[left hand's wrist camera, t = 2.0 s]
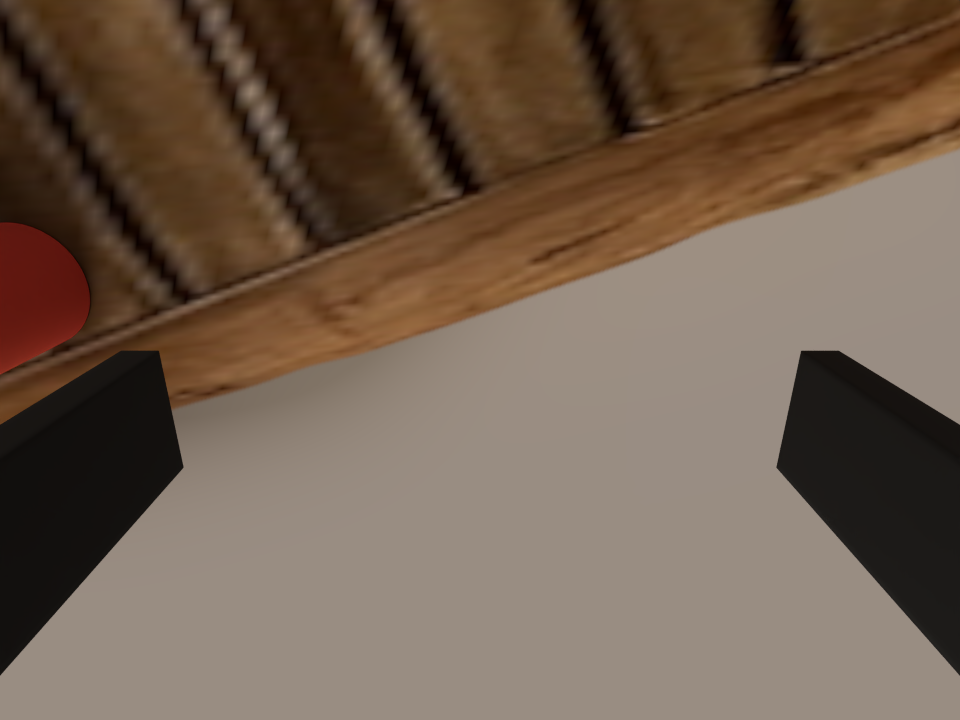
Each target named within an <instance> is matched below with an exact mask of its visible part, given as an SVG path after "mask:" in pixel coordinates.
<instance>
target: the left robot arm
mask: <svg viewBox="0 0 960 720" xmlns="http://www.w3.org/2000/svg"><path fill="white" fill-rule="evenodd" d="M182 469H183V463H182V458H181V453H180V449H179V444H178V439H177V434H176V430H175V425H174V420H173V415H172V411H171V406H170V401H169V397H168V392H167V387H166V382H165V378H164V373H163V368H162V364H161V359H160V354H159V351H120V352H118V353H117V354H115V355H114V356H112V357H110V358H109V359H107V360H105V361H104V362H102V363H100V364H99V365H97V366H96V367H94V368H92V369H91V370H89V371H87V372H86V373H84V374H82V375H81V376H79V377H78V378H76V379H74V380H73V381H71V382H69V383H68V384H66V385H65V386H63V387H61V388H60V389H58V390H56V391H55V392H53V393H51V394H50V395H48V396H47V397H45V398H43V399H42V400H40V401H38V402H37V403H35V404H33V405H32V406H30V407H29V408H27V409H25V410H24V411H22V412H20V413H19V414H17V415H15V416H14V417H12V418H11V419H9V420H7V421H6V422H4V423H2V424H1V425H0V675H1V674H2V673H3V672H4V671H5V669H6V668H7V667H8V666H9V665H10V664H11V663H12V662H13V660H14V659H15V658H16V657H17V656H18V655H19V654H20V652H21V651H22V650H23V649H24V648H25V647H26V646H27V644H28V643H29V642H30V641H31V640H32V639H33V638H34V637H35V635H36V634H37V633H38V632H39V631H40V630H41V629H42V627H43V626H44V625H45V624H46V623H47V622H48V621H49V619H50V618H51V617H52V616H53V615H54V614H55V613H56V612H57V610H58V609H59V608H60V607H61V606H62V605H63V604H64V603H65V601H66V600H67V599H68V598H69V597H70V596H71V595H72V593H73V592H74V591H75V590H76V589H77V588H78V587H79V585H80V584H81V583H82V582H83V581H84V580H85V579H86V578H87V576H88V575H89V574H90V573H91V572H92V571H93V570H94V568H95V567H96V566H97V565H98V564H99V563H100V562H101V561H102V559H103V558H104V557H105V556H106V555H107V554H108V552H109V551H110V550H111V549H112V548H113V547H114V546H115V545H116V544H117V542H118V541H119V540H120V539H121V538H122V537H123V536H124V534H125V533H126V532H127V531H128V530H129V529H130V528H131V527H132V525H133V524H134V523H135V522H136V521H137V520H138V519H139V517H140V516H141V515H142V514H143V513H144V512H145V511H146V509H147V508H148V507H149V506H150V505H151V504H152V503H153V502H154V500H155V499H156V498H157V497H158V496H159V495H160V494H161V492H162V491H163V490H164V489H165V488H166V487H167V486H168V485H169V483H170V482H171V481H172V480H173V479H174V478H175V477H176V476H177V474H178V473H179V472H180V471H181V470H182ZM777 469H778V470H779V471H780V472H781V473H782V474H783V476H784V477H785V478H786V479H787V480H788V481H789V482H790V483H791V485H792V486H793V487H794V488H795V489H796V490H797V491H798V492H799V494H800V495H801V496H802V497H803V498H804V499H805V500H806V502H807V503H808V504H809V505H810V506H811V507H812V508H813V510H814V511H815V512H816V513H817V514H818V515H819V516H820V517H821V519H822V520H823V521H824V522H825V523H826V524H827V525H828V527H829V528H830V529H831V530H832V531H833V532H834V533H835V534H836V536H837V537H838V538H839V539H840V540H841V541H842V542H843V543H844V545H845V546H846V547H847V548H848V549H849V550H850V552H851V553H852V554H853V555H854V556H855V557H856V558H857V559H858V561H859V562H860V563H861V564H862V565H863V566H864V567H865V568H866V570H867V571H868V572H869V573H870V574H871V575H872V576H873V578H874V579H875V580H876V581H877V582H878V583H879V584H880V586H881V587H882V588H883V589H884V590H885V591H886V592H887V593H888V595H889V596H890V597H891V598H892V599H893V600H894V601H895V603H896V604H897V605H898V606H899V607H900V608H901V609H902V610H903V612H904V613H905V614H906V615H907V616H908V617H909V618H910V620H911V621H912V622H913V623H914V624H915V625H916V626H917V627H918V629H919V630H920V631H921V632H922V633H923V634H924V635H925V637H926V638H927V639H928V640H929V641H930V642H931V643H932V644H933V646H934V647H935V648H936V649H937V650H938V651H939V652H940V654H941V655H942V656H943V657H944V658H945V659H946V660H947V661H948V663H949V664H950V665H951V666H952V667H953V668H954V669H955V671H956V672H957V673H958V674H959V675H960V425H959V424H958V423H956V422H954V421H953V420H951V419H949V418H948V417H946V416H945V415H943V414H941V413H940V412H938V411H936V410H935V409H933V408H931V407H930V406H928V405H926V404H925V403H923V402H922V401H920V400H918V399H917V398H915V397H913V396H912V395H910V394H909V393H907V392H905V391H904V390H902V389H900V388H899V387H897V386H895V385H894V384H892V383H890V382H889V381H887V380H886V379H884V378H882V377H881V376H879V375H877V374H876V373H874V372H873V371H871V370H869V369H868V368H866V367H864V366H863V365H861V364H860V363H858V362H856V361H855V360H853V359H851V358H850V357H848V356H846V355H845V354H843V353H841V352H840V351H801V354H800V359H799V364H798V368H797V373H796V378H795V382H794V387H793V392H792V397H791V401H790V406H789V411H788V415H787V420H786V425H785V430H784V434H783V439H782V444H781V448H780V453H779V458H778V463H777Z"/></svg>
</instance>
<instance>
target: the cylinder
mask: <svg viewBox="0 0 960 720" xmlns="http://www.w3.org/2000/svg"><path fill="white" fill-rule="evenodd" d="M89 308H90V293H89V288H88V284H87V281H86V278H85V276H84V273H83V271H82V269H81V268H80V266H79V264H78V263H77V261H76V260H75V259H74V257H73V256H72V255H71V254H70V253H69V251H68V250H67V249H66V248H65V247H64V246H62V245H61V244H60V243H59V242H58V241H56V240H55V239H54V238H52V237H51V236H49V235H47V234H46V233H44V232H42V231H40V230H38V229H35V228H33V227H30V226H27V225H23V224H18V223H8V222H4V223H0V374H2V373H4V372H6V371H8V370H10V369H12V368H14V367H16V366H18V365H20V364H21V363H23V362H25V361H27V360H29V359H31V358H33V357H35V356H37V355H39V354H41V353H43V352H45V351H47V350H49V349H51V348H53V347H55V346H57V345H59V344H61V343H63V342H65V341H66V340H68V339H70V338H72V337H73V336H74V335H75V334H77V333H78V331H79V330H80V329H81V328H82V326H83V325H84V323H85V321H86V319H87V317H88V313H89Z"/></svg>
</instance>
